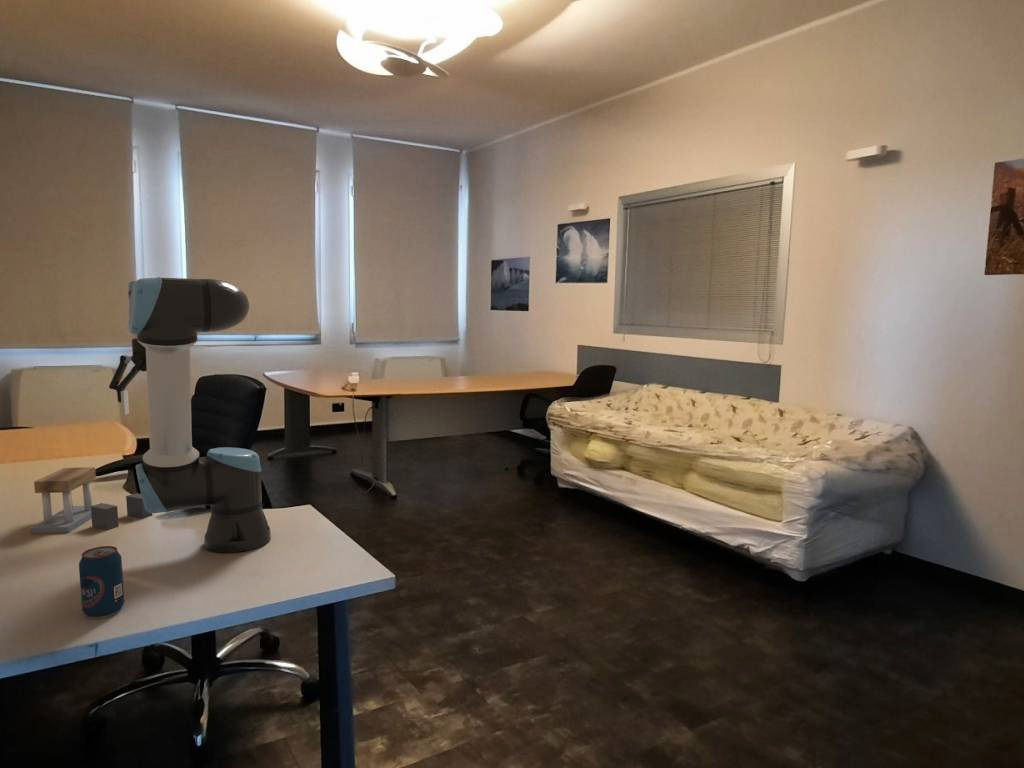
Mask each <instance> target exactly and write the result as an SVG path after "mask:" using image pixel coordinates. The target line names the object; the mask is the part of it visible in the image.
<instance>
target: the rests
mask: <svg viewBox="0 0 1024 768" xmlns="http://www.w3.org/2000/svg"><path fill="white" fill-rule="evenodd" d="M125 498H126V499H125V501H126V515H127V516H129V517H134V518H139V519H145V518H148V517H151V516H153V513H149V512H147V511H146V510H145V507H144V504H143V499H142V495H141V493H137V492H136V493H132V494H128V495H126V496H125ZM91 516H92V518H91V526H92V527H93V528H97V529H102V530H107V531H108V530H109V531H110V530H111V529H115V528H117V527H119V512H118V505H115V504H109V503H104V502H103V503H102V502H100V503H97V504H94V505H93V504H92V506H91Z"/></svg>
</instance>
